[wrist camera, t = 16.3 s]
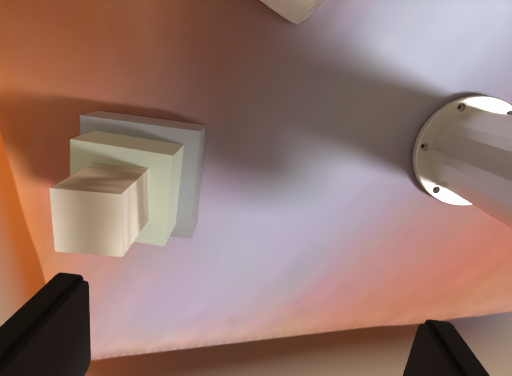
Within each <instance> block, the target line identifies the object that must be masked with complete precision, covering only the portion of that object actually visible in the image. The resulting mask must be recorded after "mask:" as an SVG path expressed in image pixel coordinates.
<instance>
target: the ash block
mask: <svg viewBox="0 0 512 376" xmlns="http://www.w3.org/2000/svg"><path fill="white" fill-rule="evenodd" d="M49 189H50V200H51V212H52V223H53V234H54V245H55V251H56V252H69V253H81V254H93V255H105V256H118V257H123V256H124V254H125V253H126V251H127V250H128V248H129V247H130V246H131V244H132V243H133V241H134V240H135V239H136V237H137V236H138V234H139V233H140V231H141V230H142V229H143V227H144V226H145V224H146V223H147V222H148V220H149V169H148V168H137V167H126V166H115V165H103V164H90V165H89V166H87V167H85V168H84V169H82V170H80V171H78V172H77V173H75V174H73V175H71V176H70V177H68V178H66V179H64V180H63V181H61V182H59V183H57V184H56V185H54V186H52V187H50V188H49Z"/></svg>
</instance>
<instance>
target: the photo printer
mask: <svg viewBox="0 0 512 376" xmlns="http://www.w3.org/2000/svg"><path fill="white" fill-rule="evenodd" d="M260 1H261V2H263V3H264V4H265V5H267V6H268V7H269V8H271V9H272V10H274V11H275V12H276V13H278V14H279V15H281V16H282V17H284V18H285V19H287V20H288V21H290V22H292V23H294V24H297V25H299V24H300V22H302V21H304V20H306V19H307V18H308V17H309V16H310V15H311V14H312V13H313V12H314V11H315V9H316V8H317V7H318V6H319V5H320V4H321V2H322V1H323V0H260Z"/></svg>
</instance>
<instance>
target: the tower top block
mask: <svg viewBox="0 0 512 376" xmlns="http://www.w3.org/2000/svg"><path fill="white" fill-rule="evenodd" d="M183 149H184V145H182V144H176V143H170V142H164V141H158V140H151V139H145V138H139V137H133V136H127V135H120V134H114V133H108V132H102V131H96V130H94V131H91V132H88V133H86V134H83V135H80V136H77V137H75V138H72V139H70V176H71V175H73V174H75V173H77V172H78V171H80V170H82V169H84V168H85V167H87V166H89V165H90V164H103V165H115V166H126V167H137V168H148V169H149V220H148V222H147V223H146V224H145V226H144V227H143V229H142V230H141V231H140V233H139V234H138V236H137V237H136V239H135V240H134V241H133V242H140V243H147V244H154V245H161V246H165V244H166V242H167V240H168V238H169V236H170V235H171V233H172V231H173V229H174V227H175V224H176V215H177V205H178V196H179V186H180V177H181V168H182V158H183Z"/></svg>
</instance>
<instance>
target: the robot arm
mask: <svg viewBox="0 0 512 376" xmlns="http://www.w3.org/2000/svg"><path fill="white" fill-rule="evenodd" d="M458 105H459V107H458ZM457 107H458V108H457ZM422 144H423V146H422V147H421V145H422ZM412 160H413V169H414V172H415V176H416V178H417V180H418V182H419V184H420V185H421V186H422V187H423V189H424V190H425V191H426V192H427V193H429V194H430V195H431V196H433V197H434V198H436V199H438V200H440V201H442V202H445V203H448V204H452V205H471V204H472V205H474V206H476V207H477V208H479V209H481V210H482V211H484V212H486V213H487V214H489V215H491V216H492V217H494V218H496V219H497V220H499V221H501V222H502V223H504V224H506V225H507V226H509V227H511V228H512V105H510V104H509V103H507V102H505V101H503V100H501V99H499V98H495V97H491V96H482V95H477V96H467V97H463V98H459V99H456V100H454V101H452V102H450V103H447V104H446V105H444V106H443V107H441V108H440V109H438V110H437V111H436V112H435V113H434V114H433V115H432V116H431V117H430V118H429V119H428V120H427V121H426V123H425V124H424V125H423V127H422V128H421V130H420V132H419V134H418V136H417V138H416V141H415V144H414V148H413V156H412ZM433 188H434V189H433ZM90 359H91V350H90V312H89V284H88V282H87V281H84V280H83V277H82V276H81V275H77V274H69V273H58V274H57V275H55V276H54V277H53V278H52V279H51V280H50V281H49V282H48V283H47V284H46V285H45V286H44V287H43V288H42V289H40V290H39V291H38V292H37V293H36V294H35V295H34V296H33V297H32V298H31V299H30V300H29V301H28V302H26V303H25V305H23V306H22V307H21V308H20V309H19V310H18V311H17V312H16V313H15V314H14V315H13V316H12V317H11V318H10V319H8V320H7V321H6V322H5V323H4V324H3V325H2V326H1V327H0V376H84V375H85V373H86V371H87V370H88V367H89V364H90ZM403 376H489V374H488V373H487V371H486V370H485V369H484V367H483V366H482V365H481V363H480V362H479V360H478V359H477V358H476V356H475V355H474V354H473V352H472V351H471V349H470V348H469V347H468V345H467V344H466V343H465V341H464V340H463V338H462V337H461V336H460V334H459V333H458V332H457V330H456V329H455V327H454V326H453V325H452V324H451V323H450V322H445V321H437V320H426V321H425V323H424V324H420V325H419V326H418V329H417V332H416V335H415V338H414V342H413V345H412V348H411V351H410V354H409V358H408V361H407V364H406V367H405V370H404V374H403Z"/></svg>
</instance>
